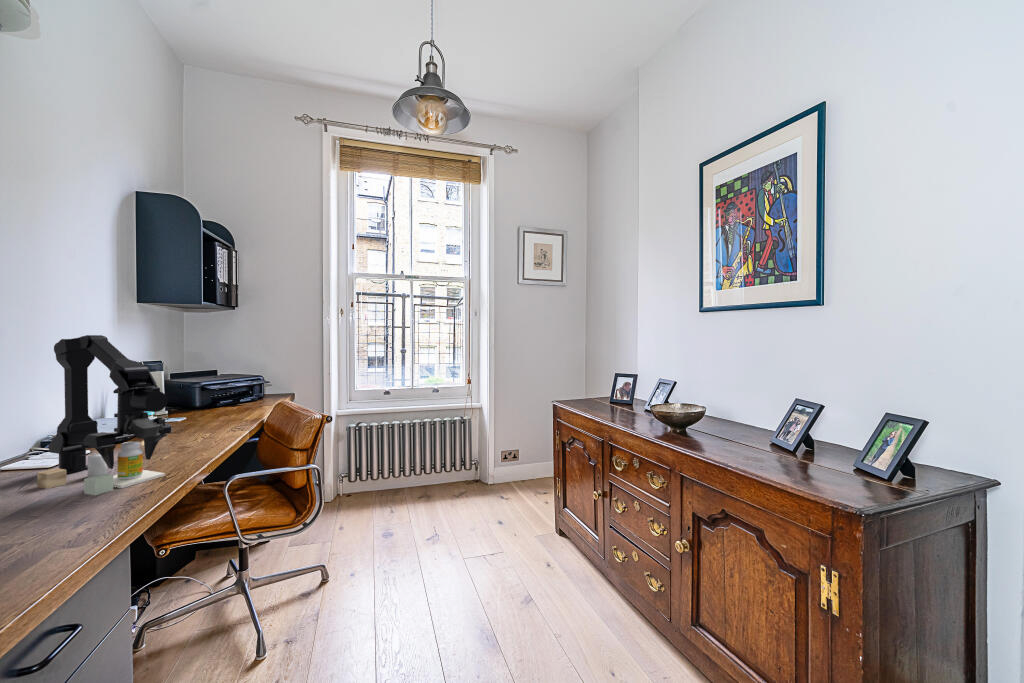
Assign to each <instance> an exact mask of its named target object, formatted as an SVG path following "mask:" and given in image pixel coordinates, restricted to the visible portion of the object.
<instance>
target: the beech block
mask: <svg viewBox="0 0 1024 683" xmlns="http://www.w3.org/2000/svg"><path fill="white" fill-rule="evenodd" d="M36 478H37V479H36V480H37V481H36V482H37V485H36V486H37V488H40V489H41V488H42V489H46V490H47V489H51V488H55V487H60V486H64V485H66V484H67V474H66V470H65V469H59V467H56V468H53V469H52V468H51V469H47V470H42V471H39V472H37V476H36Z"/></svg>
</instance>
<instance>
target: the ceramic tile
mask: <svg viewBox="0 0 1024 683" xmlns="http://www.w3.org/2000/svg"><path fill="white" fill-rule="evenodd" d="M165 476H166V473H164V472H160V471H153V470H146V469H143V474H142V475H141V476H139V477H136V478H132V479H118V478H117V474H115V475H113V488H116V487H117V489H123V488H127V487H131V486H134V485H138V484H141V483H145V482H148V481H151V480H155V479H158V478H161V477H165Z"/></svg>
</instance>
